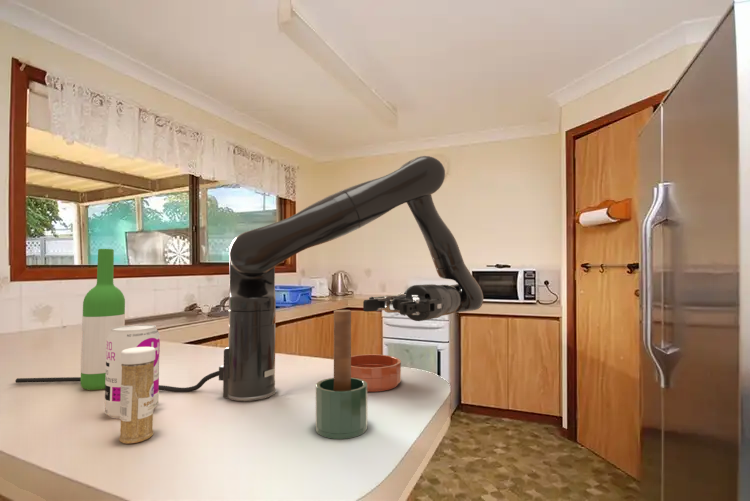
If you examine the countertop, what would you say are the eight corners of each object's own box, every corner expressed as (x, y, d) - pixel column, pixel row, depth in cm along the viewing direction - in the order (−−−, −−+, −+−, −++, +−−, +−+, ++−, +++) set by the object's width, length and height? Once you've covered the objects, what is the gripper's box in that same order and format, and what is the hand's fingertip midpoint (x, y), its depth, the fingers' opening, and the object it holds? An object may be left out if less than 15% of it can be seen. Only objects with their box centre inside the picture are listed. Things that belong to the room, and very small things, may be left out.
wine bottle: (71, 389, 84) (75, 248, 86) (108, 379, 92) (111, 250, 93) (95, 393, 81) (99, 247, 83) (131, 383, 89) (134, 249, 90)
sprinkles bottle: (154, 439, 59) (156, 349, 60) (118, 447, 57) (121, 353, 57) (152, 429, 63) (154, 344, 64) (118, 436, 61) (120, 347, 61)
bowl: (335, 391, 83) (335, 367, 83) (348, 374, 96) (348, 353, 96) (398, 394, 81) (398, 369, 81) (402, 376, 94) (402, 355, 94)
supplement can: (168, 406, 74) (170, 325, 74) (127, 422, 66) (130, 332, 67) (135, 401, 76) (137, 323, 77) (93, 416, 69) (95, 329, 69)
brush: (323, 428, 62) (324, 312, 62) (331, 416, 66) (331, 308, 67) (354, 429, 61) (354, 312, 62) (359, 418, 66) (359, 309, 67)
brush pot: (309, 437, 60) (309, 390, 60) (323, 417, 68) (323, 376, 69) (362, 440, 59) (362, 393, 59) (370, 419, 67) (370, 378, 67)
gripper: (400, 283, 90) (353, 285, 78) (457, 285, 82) (415, 288, 69) (400, 316, 90) (353, 324, 77) (457, 322, 81) (415, 331, 69)
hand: (382, 307), depth 73 cm, fingers open, 8 cm apart
